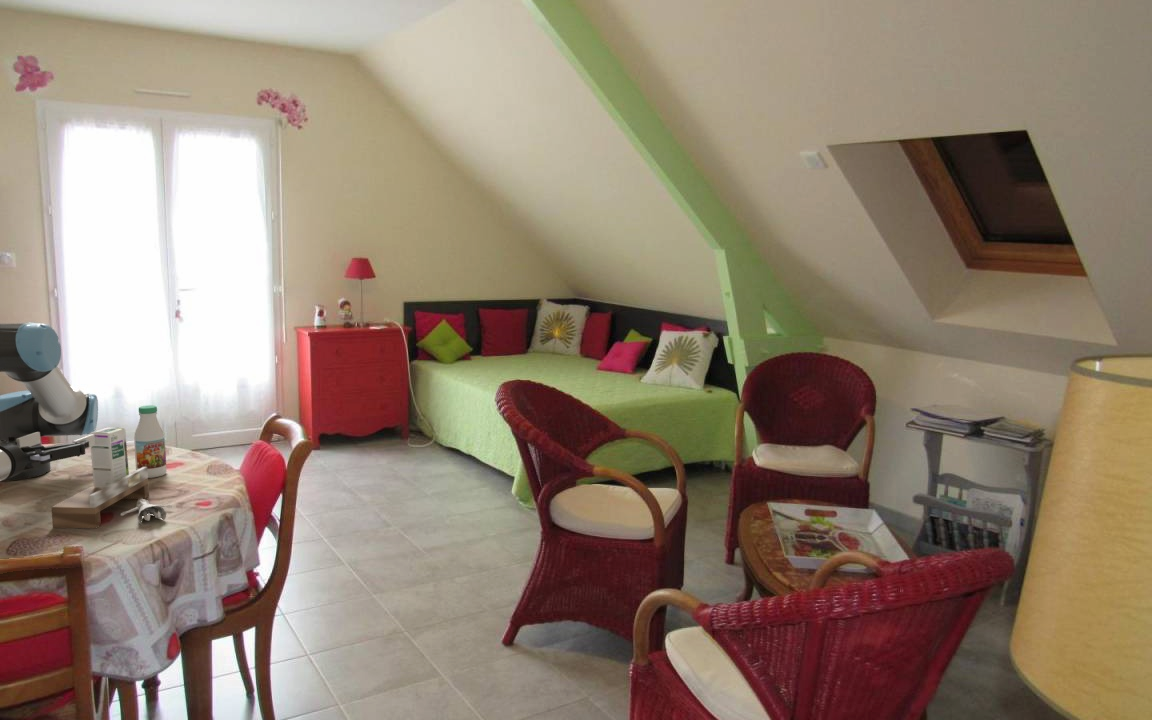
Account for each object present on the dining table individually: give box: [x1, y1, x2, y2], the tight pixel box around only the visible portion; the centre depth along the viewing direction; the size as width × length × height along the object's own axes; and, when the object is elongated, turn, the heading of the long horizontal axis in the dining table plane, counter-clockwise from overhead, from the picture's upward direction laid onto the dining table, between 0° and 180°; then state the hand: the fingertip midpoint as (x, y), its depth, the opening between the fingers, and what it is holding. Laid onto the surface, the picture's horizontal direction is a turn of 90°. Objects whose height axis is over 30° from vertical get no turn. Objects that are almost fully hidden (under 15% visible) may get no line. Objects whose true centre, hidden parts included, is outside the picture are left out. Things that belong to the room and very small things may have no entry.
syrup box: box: [88, 426, 130, 489], centre depth 202 cm, size 6×6×14 cm
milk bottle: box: [133, 404, 167, 479], centre depth 228 cm, size 8×8×20 cm
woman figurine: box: [120, 498, 174, 525], centre depth 197 cm, size 12×4×18 cm
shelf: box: [51, 467, 150, 529], centre depth 199 cm, size 24×10×8 cm, turn 1°
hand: (66, 438), depth 192 cm, fingers open, 13 cm apart
